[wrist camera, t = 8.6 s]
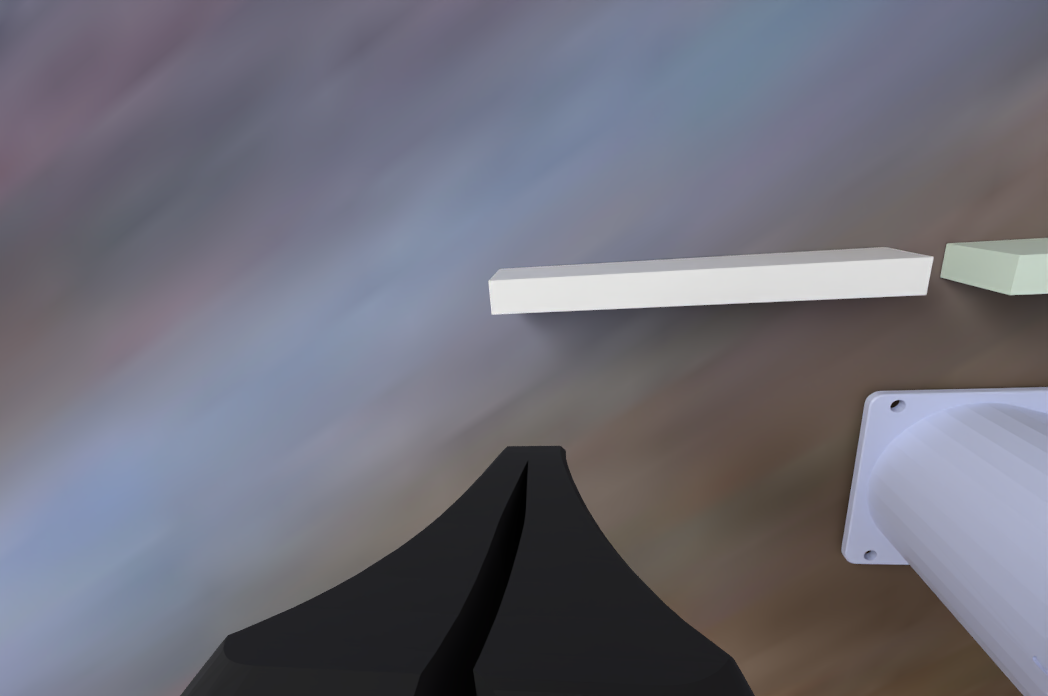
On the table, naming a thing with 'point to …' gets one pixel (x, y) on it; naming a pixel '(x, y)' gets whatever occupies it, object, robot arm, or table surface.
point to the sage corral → (999, 265)
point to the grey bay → (711, 280)
